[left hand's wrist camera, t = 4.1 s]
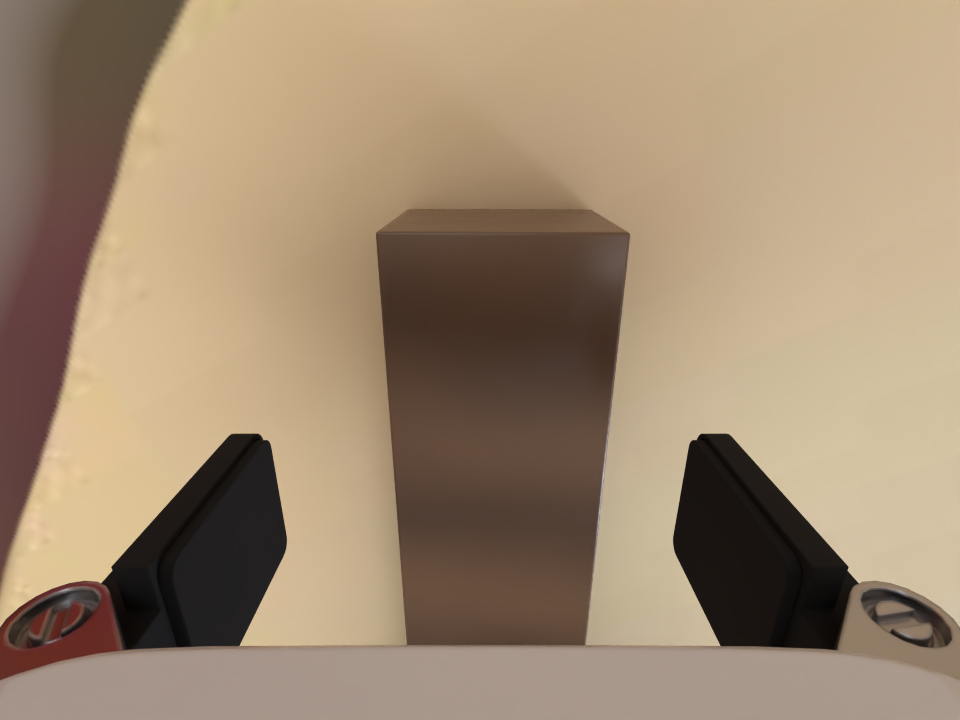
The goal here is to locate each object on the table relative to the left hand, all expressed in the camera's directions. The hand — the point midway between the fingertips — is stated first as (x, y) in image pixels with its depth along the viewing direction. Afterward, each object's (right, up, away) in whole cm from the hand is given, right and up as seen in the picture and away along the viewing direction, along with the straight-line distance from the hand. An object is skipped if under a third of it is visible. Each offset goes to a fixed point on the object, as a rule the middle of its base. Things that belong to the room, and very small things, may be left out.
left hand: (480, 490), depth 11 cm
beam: (+1, -19, +18) cm, 26 cm away
